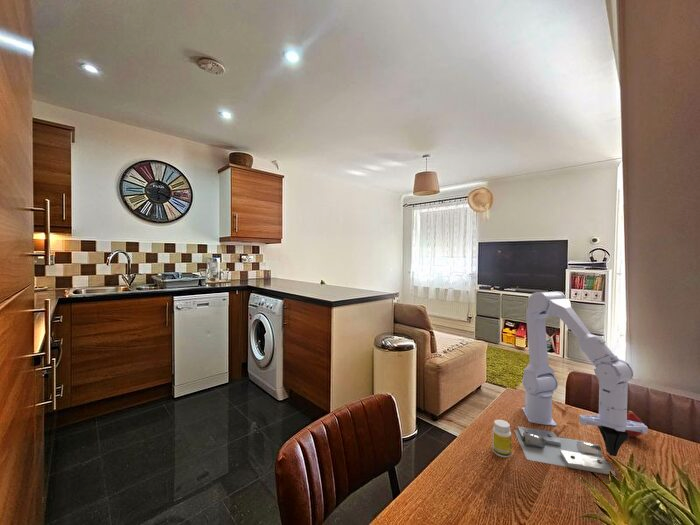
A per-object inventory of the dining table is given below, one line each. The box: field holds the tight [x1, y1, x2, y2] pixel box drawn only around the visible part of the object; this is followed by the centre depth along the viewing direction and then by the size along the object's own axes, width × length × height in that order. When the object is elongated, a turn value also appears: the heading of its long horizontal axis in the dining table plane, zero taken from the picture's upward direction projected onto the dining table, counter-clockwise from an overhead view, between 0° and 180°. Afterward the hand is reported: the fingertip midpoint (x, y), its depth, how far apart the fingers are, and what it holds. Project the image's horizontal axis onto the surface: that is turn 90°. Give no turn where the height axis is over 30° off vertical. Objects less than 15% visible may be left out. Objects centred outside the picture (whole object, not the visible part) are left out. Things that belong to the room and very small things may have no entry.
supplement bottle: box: [491, 419, 512, 458], centre depth 83 cm, size 5×5×8 cm
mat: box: [513, 429, 617, 477], centre depth 84 cm, size 14×20×1 cm
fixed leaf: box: [516, 426, 561, 448], centre depth 88 cm, size 9×11×3 cm
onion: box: [626, 410, 643, 438], centre depth 91 cm, size 6×6×8 cm
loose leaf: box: [560, 440, 616, 476], centre depth 80 cm, size 9×10×3 cm
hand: (611, 453), depth 80 cm, fingers closed
